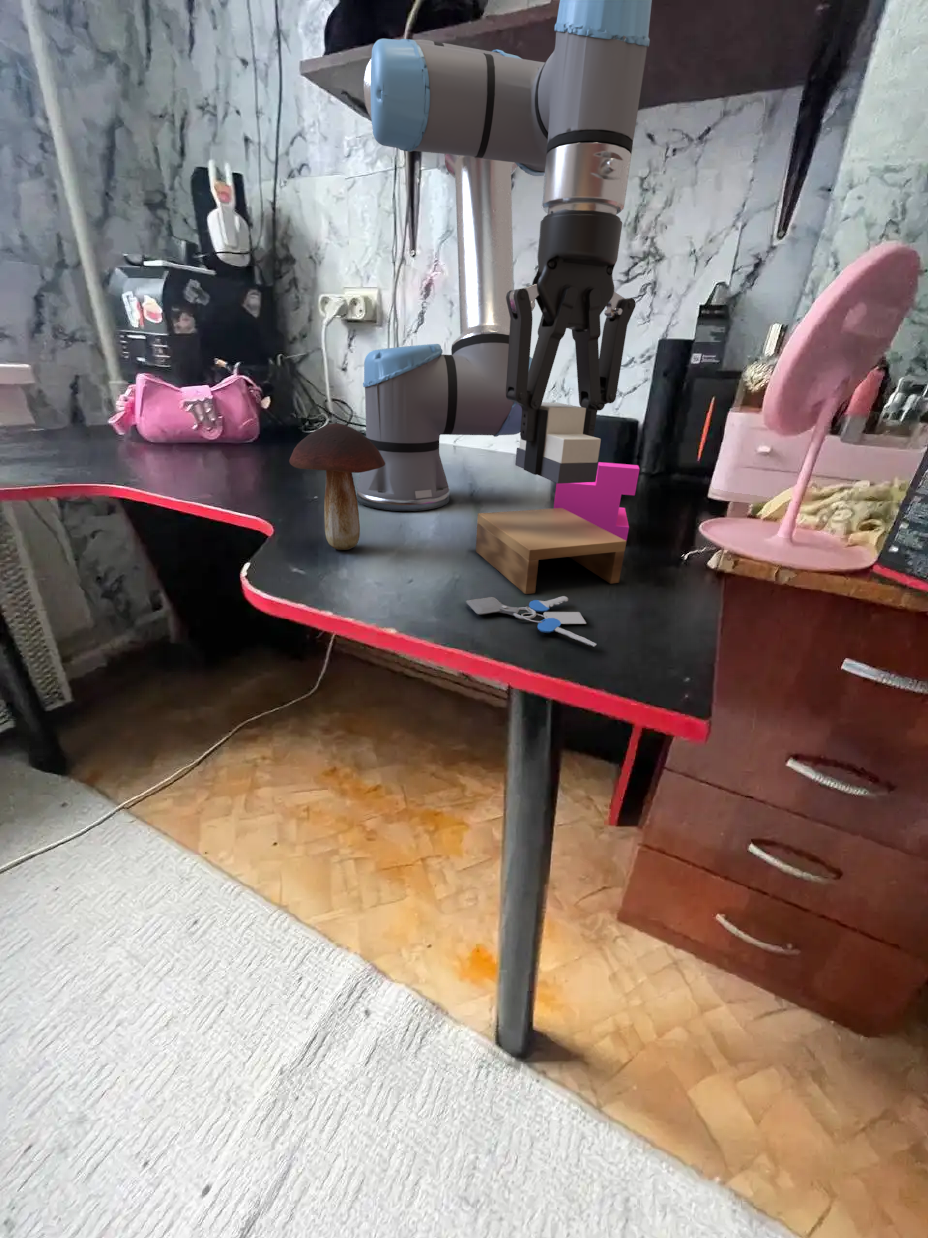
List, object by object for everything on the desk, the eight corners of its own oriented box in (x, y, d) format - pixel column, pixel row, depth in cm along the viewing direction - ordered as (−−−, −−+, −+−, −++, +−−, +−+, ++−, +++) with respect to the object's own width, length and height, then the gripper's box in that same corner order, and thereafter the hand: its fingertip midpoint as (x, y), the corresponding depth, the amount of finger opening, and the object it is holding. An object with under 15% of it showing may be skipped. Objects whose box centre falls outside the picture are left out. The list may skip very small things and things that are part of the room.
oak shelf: (475, 551, 70) (477, 513, 68) (557, 544, 74) (561, 507, 72) (525, 594, 58) (529, 549, 56) (619, 582, 62) (626, 540, 60)
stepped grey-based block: (515, 465, 64) (520, 401, 61) (549, 464, 66) (556, 402, 63) (557, 483, 56) (566, 411, 53) (595, 482, 58) (606, 411, 55)
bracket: (625, 545, 75) (639, 468, 70) (550, 537, 76) (558, 462, 72) (621, 521, 85) (633, 453, 81) (555, 515, 87) (562, 448, 82)
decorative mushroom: (400, 542, 72) (399, 422, 65) (361, 570, 62) (355, 433, 56) (326, 531, 75) (318, 415, 68) (278, 556, 65) (263, 424, 59)
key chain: (456, 611, 53) (456, 603, 53) (494, 584, 60) (495, 577, 60) (594, 652, 47) (595, 643, 47) (620, 617, 54) (622, 609, 53)
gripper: (513, 193, 44) (494, 481, 55) (685, 219, 50) (639, 475, 61) (478, 211, 51) (467, 467, 61) (635, 232, 57) (601, 462, 67)
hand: (553, 470), depth 61 cm, fingers closed on stepped grey-based block, 5 cm apart
